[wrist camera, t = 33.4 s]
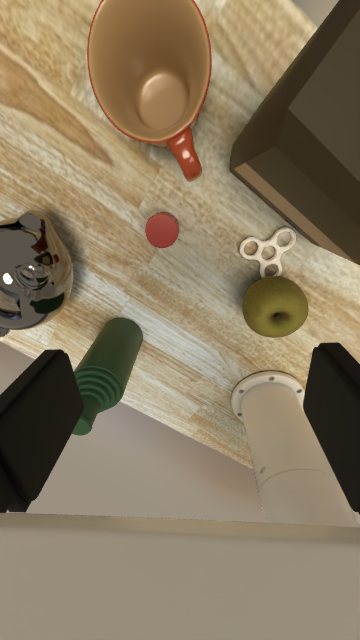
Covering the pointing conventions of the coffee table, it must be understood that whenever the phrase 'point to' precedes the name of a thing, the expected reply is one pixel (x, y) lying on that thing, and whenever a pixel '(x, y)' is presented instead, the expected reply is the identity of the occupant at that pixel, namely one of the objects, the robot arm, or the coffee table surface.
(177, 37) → the mug
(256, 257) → the fidget spinner
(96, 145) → the coffee table surface
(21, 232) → the piggy bank
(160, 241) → the cap
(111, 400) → the sauce bottle
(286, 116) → the bottle
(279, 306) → the apple
